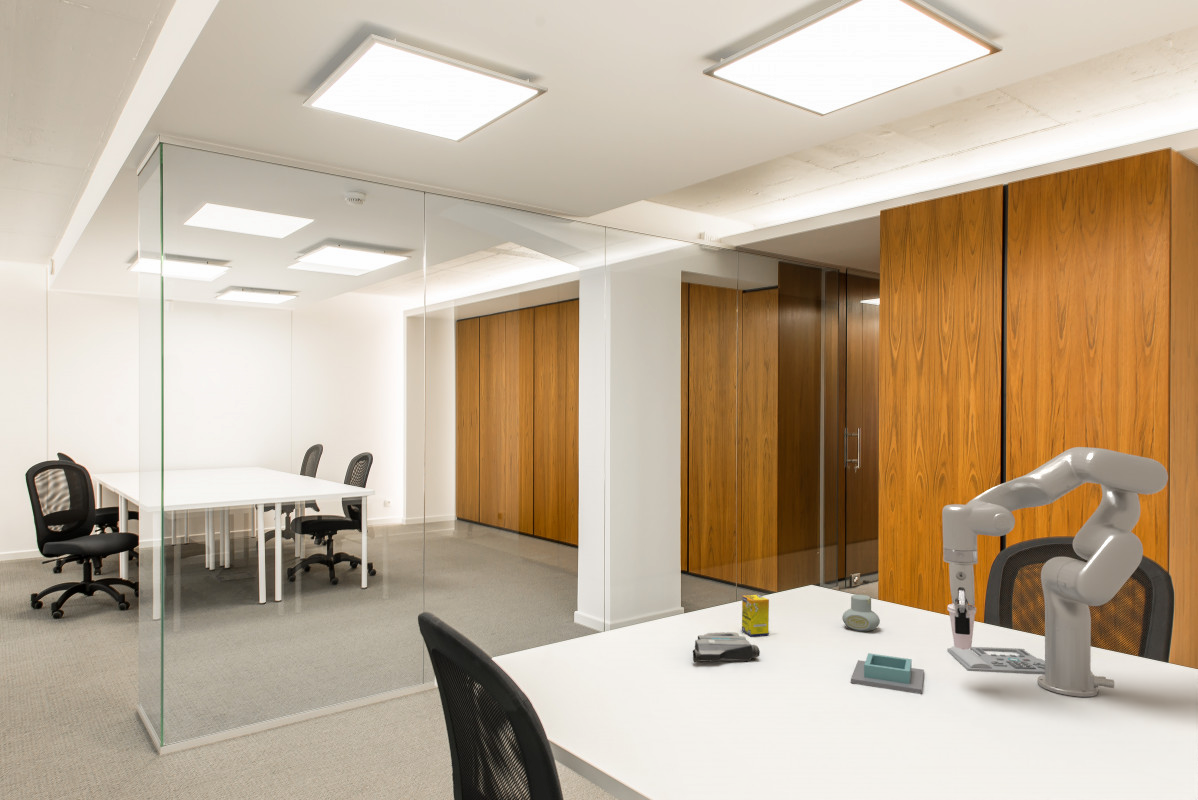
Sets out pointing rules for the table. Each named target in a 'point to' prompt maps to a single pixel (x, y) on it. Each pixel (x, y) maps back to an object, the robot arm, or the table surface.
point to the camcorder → (723, 648)
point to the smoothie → (962, 639)
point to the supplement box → (755, 615)
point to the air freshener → (861, 614)
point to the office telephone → (998, 660)
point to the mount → (888, 673)
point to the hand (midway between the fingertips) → (962, 629)
